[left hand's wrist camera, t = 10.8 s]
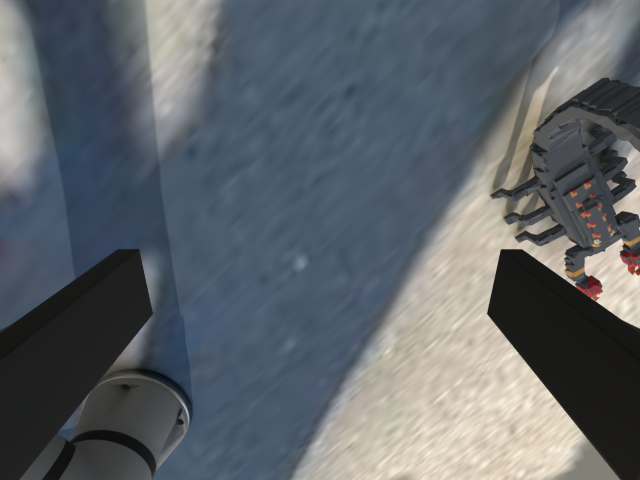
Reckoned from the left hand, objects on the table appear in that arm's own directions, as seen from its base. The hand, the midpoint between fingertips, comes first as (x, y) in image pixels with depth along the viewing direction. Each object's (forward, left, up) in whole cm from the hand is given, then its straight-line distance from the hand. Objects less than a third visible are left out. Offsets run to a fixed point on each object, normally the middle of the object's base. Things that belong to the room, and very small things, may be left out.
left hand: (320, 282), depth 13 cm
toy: (+17, -23, -28) cm, 40 cm away
